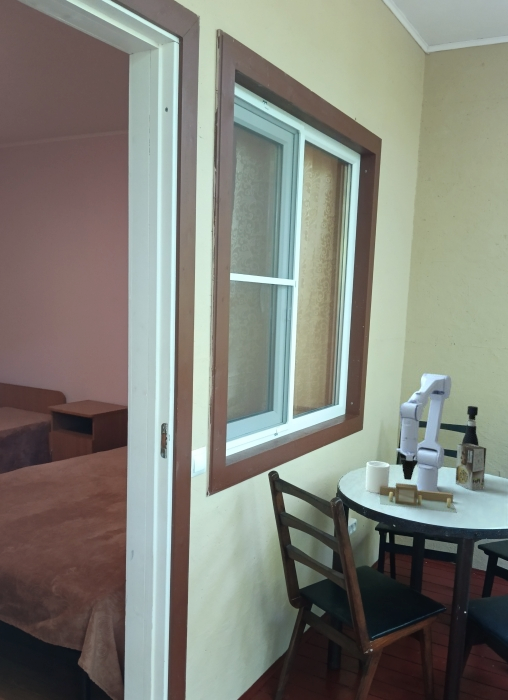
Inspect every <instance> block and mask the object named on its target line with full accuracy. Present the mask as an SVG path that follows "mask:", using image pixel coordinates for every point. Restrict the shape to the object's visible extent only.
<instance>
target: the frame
mask: <svg viewBox="0 0 508 700" xmlns="http://www.w3.org/2000/svg"><path fill="white" fill-rule="evenodd" d="M395 488H396V492H395V503H396V504H405V505H414V506H416V505H417V490H418V488H417V485H415V484H409V483H408V484H407V483H399V482H396V483H395Z"/></svg>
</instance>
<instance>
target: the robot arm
mask: <svg viewBox="0 0 508 700" xmlns="http://www.w3.org/2000/svg"><path fill="white" fill-rule="evenodd" d="M420 385H421V386H420V388H419V390H416V391H415V392H414V393H413V394H412V395H411V396H410V397H409V399H408V400H407V401H406V402H403V403H401V405H400V407H399V410H398V411H399V413H398V414H399V419H400V421H399V422H400V425H401V427H400V444H399V447H400V448H397V447H396V452H397V453H398V454H399V457H400V458H399V461H400V463H401V464H402V465H401V466H402V473H403V479H404V480H406V481H407V480H409V481H411V479H412V477H413V473H414V470H415V467H416V466H417V467H418V469H417V482H416V483H415V484H414V485H417V488H418V490H424V491H433V492H439V489H438V482H439V481H438V478H439V470H440V469H442V467H443V466H444V463H445V462H444V461H445V449H444V447H443V445H441V444H440V442H439V436H440V431H441V423H442V415H443V409H444V403H445V401H446V399H449V398H450V395H451V389H452V378H451V375H449V374H447V375H446V374H445V375H444V374H437V373H436V374H434V373H428V372H425V373H423V374H422V376H421V380H420ZM429 398H430V402H429ZM428 403H429V409H428V415H427V420H426V421H427V422H426V428H425V434H424V439H423V440H422V441H421V442H419V429H420V428H419V427H420V421H421V420H422V417H423V413H424V408H425V407H426V406H427V404H428Z"/></svg>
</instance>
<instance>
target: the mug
mask: <svg viewBox="0 0 508 700" xmlns="http://www.w3.org/2000/svg"><path fill="white" fill-rule="evenodd" d="M365 470H366V471H365V485H364V486H365V488H364V489H365V491H366V492H370V493H374V494H380V486H386V487H389V483H390V482H389V481H390V479H389V478H390V464H389V463H388V462H385V461H378V460H377V461H375V460H374V461H373V460H371V461H368V462H366V469H365Z"/></svg>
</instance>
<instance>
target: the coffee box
mask: <svg viewBox="0 0 508 700" xmlns="http://www.w3.org/2000/svg"><path fill="white" fill-rule="evenodd" d="M486 455H487V448H486V447H483V446H482V445H481V446H480V445H479V446H477V445H474V444H470V443H466V444H462V443H458V444H457V453H456V466H455V467H456V470H455V485H458V486H460V487H463V488H465V489H469V490H471V491H474V490H484V486H485V471H486V457H487V456H486Z"/></svg>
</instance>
